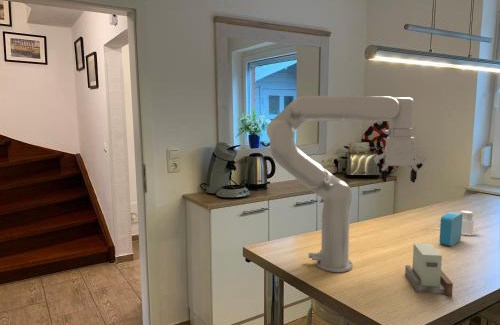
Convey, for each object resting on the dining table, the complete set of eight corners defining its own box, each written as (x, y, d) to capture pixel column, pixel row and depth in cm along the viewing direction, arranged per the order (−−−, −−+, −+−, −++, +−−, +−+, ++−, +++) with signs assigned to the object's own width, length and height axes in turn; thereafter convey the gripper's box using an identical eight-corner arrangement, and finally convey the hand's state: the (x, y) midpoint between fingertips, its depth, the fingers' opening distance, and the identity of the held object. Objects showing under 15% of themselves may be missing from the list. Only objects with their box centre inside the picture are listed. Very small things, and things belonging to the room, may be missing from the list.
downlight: (472, 237, 166) (474, 214, 165) (454, 234, 170) (456, 212, 169) (475, 233, 172) (477, 211, 171) (457, 230, 176) (459, 209, 175)
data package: (449, 237, 165) (451, 210, 164) (461, 240, 162) (462, 212, 161) (439, 244, 157) (440, 216, 156) (450, 247, 154) (452, 218, 152)
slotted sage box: (421, 286, 118) (423, 255, 116) (412, 272, 128) (413, 243, 126) (440, 287, 117) (442, 256, 115) (429, 272, 127) (431, 244, 126)
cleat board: (417, 294, 115) (418, 281, 115) (401, 267, 135) (401, 256, 134) (452, 296, 114) (452, 283, 114) (430, 268, 134) (430, 257, 133)
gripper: (376, 134, 130) (375, 183, 132) (430, 134, 128) (427, 184, 130) (372, 132, 137) (371, 179, 140) (423, 132, 135) (420, 180, 137)
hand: (398, 181), depth 135 cm, fingers open, 9 cm apart
